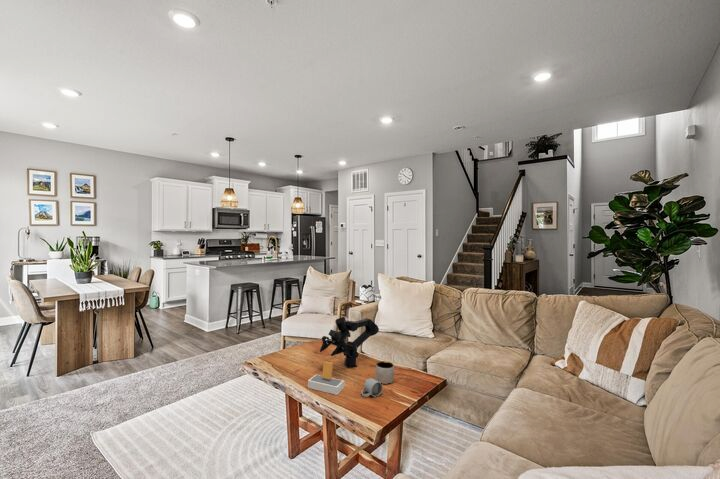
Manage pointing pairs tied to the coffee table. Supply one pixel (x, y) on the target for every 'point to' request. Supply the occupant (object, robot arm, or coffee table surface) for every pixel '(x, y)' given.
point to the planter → (384, 372)
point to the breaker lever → (327, 370)
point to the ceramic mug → (372, 388)
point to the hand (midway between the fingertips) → (325, 353)
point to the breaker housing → (326, 384)
